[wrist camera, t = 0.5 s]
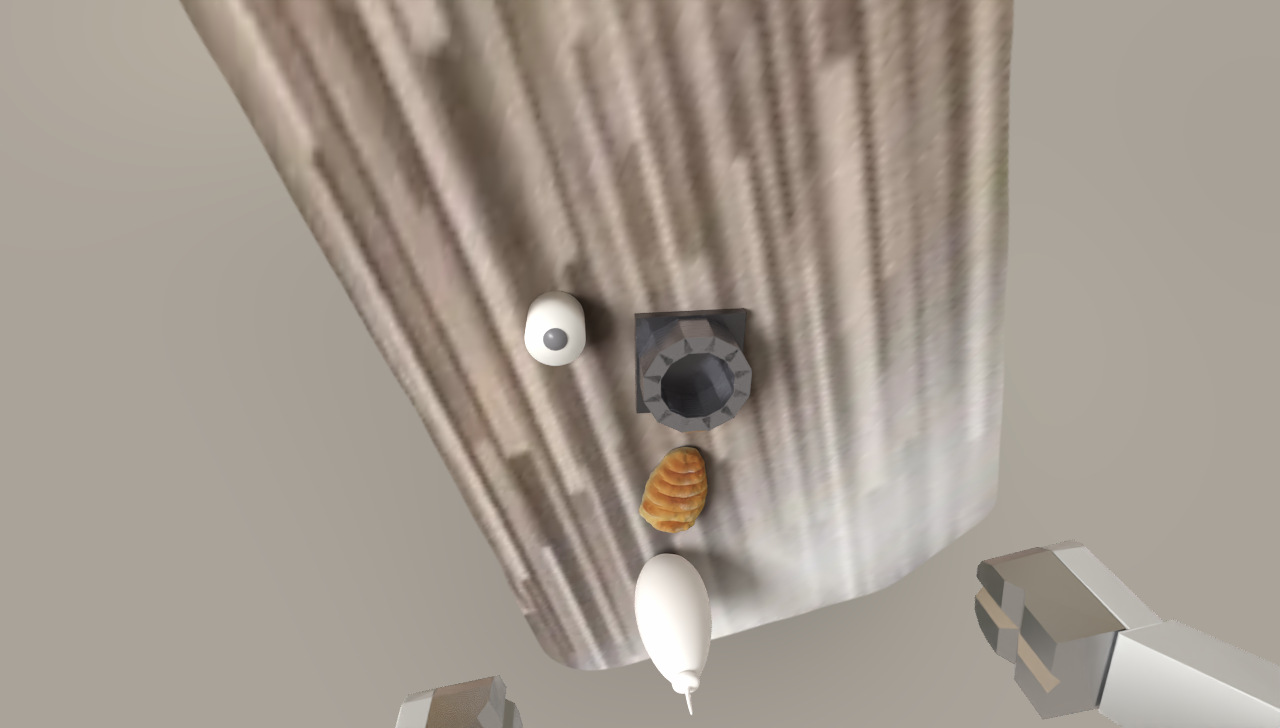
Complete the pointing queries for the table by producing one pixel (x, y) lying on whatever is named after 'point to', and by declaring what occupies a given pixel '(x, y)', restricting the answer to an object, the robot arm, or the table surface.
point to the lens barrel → (691, 367)
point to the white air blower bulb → (674, 620)
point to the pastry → (675, 491)
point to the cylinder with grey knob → (555, 328)
